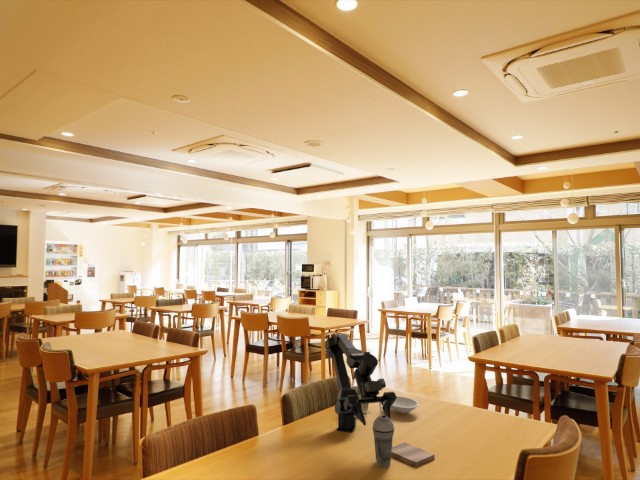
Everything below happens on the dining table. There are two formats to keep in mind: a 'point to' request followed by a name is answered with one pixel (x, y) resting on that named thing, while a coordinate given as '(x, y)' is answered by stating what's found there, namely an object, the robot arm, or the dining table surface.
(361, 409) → the robot arm
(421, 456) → the walnut board
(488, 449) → the dining table surface
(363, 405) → the ceramic cup
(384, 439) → the beverage cup
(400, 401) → the dish
